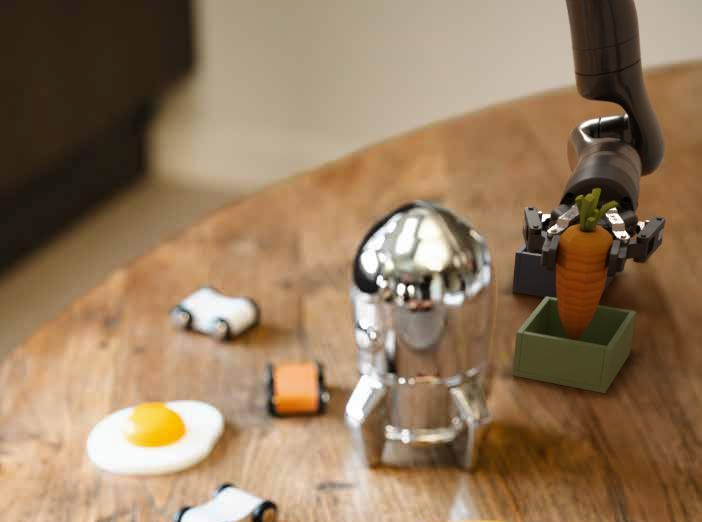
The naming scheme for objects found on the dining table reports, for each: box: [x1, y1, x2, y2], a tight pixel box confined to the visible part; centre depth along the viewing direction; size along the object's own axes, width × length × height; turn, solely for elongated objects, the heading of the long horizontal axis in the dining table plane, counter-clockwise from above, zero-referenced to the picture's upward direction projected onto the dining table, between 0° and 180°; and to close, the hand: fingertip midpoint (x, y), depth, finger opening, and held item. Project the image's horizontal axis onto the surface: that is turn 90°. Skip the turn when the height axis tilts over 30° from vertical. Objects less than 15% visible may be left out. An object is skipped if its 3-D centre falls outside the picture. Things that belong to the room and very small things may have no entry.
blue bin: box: [511, 227, 617, 298], centre depth 134 cm, size 9×9×5 cm
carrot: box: [556, 188, 618, 340], centre depth 114 cm, size 5×5×15 cm
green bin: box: [512, 296, 637, 394], centre depth 118 cm, size 9×9×5 cm
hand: (581, 264), depth 111 cm, fingers closed on carrot, 5 cm apart
